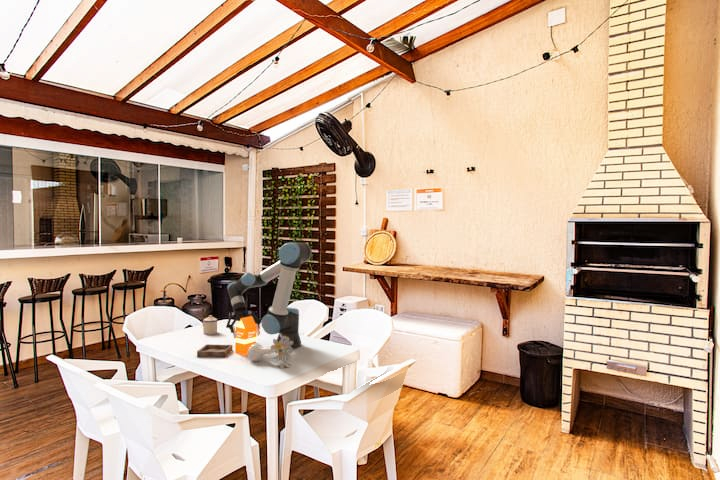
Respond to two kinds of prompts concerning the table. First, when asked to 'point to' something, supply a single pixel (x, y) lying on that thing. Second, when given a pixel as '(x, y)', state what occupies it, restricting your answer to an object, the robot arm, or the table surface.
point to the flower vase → (273, 350)
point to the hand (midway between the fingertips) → (247, 335)
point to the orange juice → (245, 335)
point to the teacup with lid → (210, 325)
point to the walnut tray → (214, 351)
